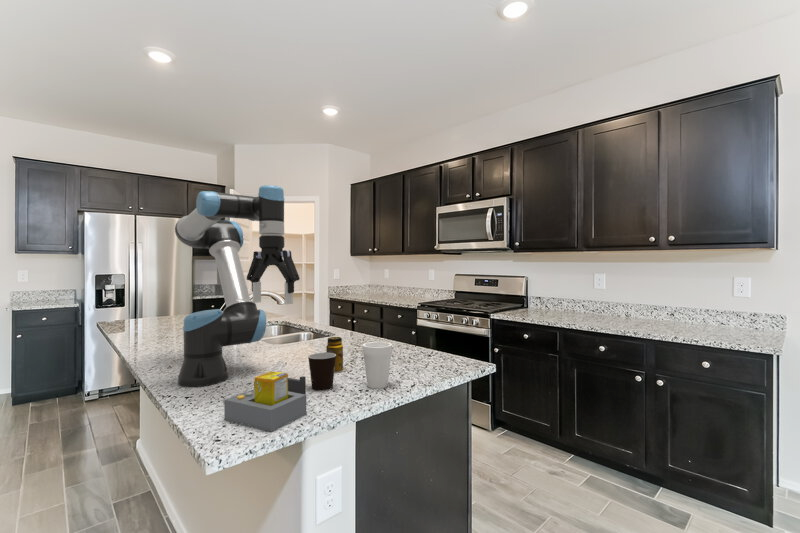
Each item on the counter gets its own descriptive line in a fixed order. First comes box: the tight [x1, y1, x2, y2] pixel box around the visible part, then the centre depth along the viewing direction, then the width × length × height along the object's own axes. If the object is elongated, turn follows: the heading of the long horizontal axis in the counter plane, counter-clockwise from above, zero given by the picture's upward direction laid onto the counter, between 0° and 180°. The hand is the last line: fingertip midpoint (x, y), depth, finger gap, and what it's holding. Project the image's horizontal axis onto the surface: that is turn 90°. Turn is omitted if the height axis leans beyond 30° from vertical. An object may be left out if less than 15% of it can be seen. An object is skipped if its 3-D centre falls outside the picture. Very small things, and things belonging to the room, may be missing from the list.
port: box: [223, 388, 308, 432], centre depth 99 cm, size 16×12×6 cm
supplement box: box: [253, 370, 289, 406], centre depth 98 cm, size 6×6×11 cm
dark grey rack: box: [253, 375, 307, 395], centre depth 114 cm, size 10×10×5 cm
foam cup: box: [361, 341, 393, 389], centre depth 124 cm, size 10×9×13 cm
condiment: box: [325, 336, 348, 374], centre depth 142 cm, size 7×8×12 cm
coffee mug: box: [307, 352, 336, 392], centre depth 124 cm, size 12×9×10 cm
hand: (272, 303), depth 122 cm, fingers open, 13 cm apart
